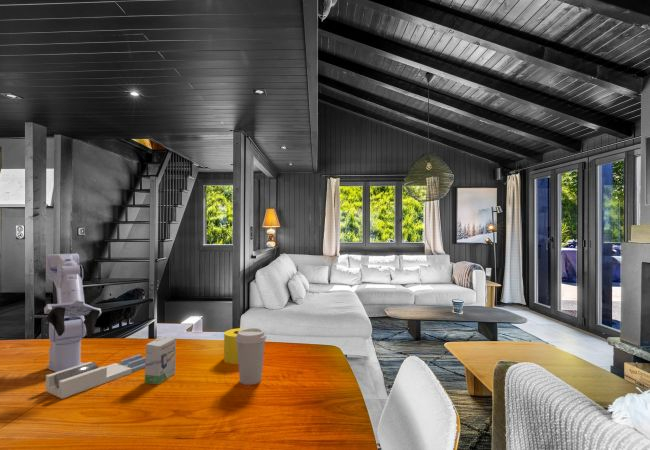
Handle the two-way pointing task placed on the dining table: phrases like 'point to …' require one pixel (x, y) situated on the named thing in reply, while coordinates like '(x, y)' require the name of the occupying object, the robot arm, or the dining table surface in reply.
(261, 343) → the coffee cup
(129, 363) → the cradle
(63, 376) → the axle
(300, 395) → the dining table surface
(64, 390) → the white channel tray
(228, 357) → the yellow cylinder
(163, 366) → the ink box
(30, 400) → the dining table surface
